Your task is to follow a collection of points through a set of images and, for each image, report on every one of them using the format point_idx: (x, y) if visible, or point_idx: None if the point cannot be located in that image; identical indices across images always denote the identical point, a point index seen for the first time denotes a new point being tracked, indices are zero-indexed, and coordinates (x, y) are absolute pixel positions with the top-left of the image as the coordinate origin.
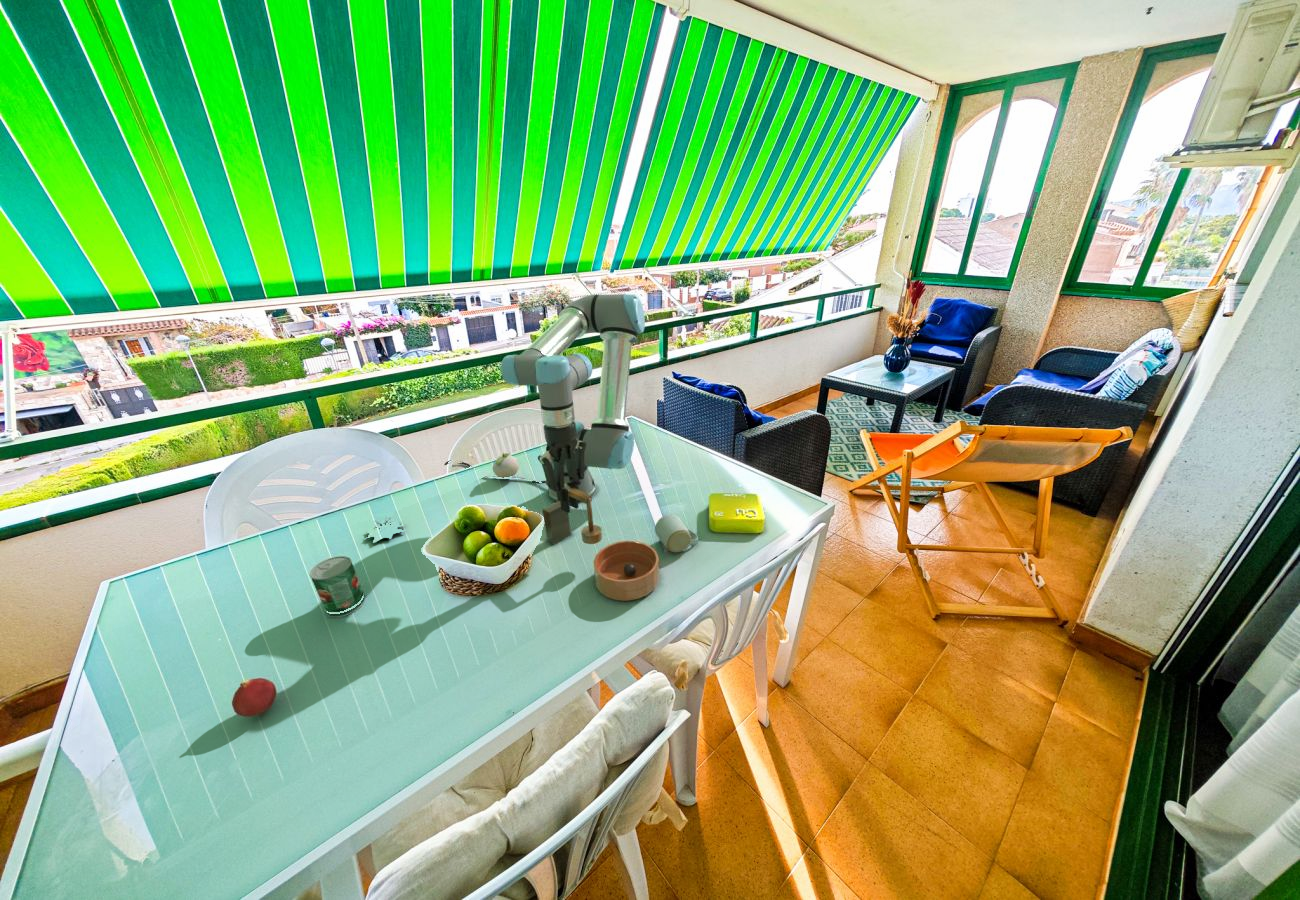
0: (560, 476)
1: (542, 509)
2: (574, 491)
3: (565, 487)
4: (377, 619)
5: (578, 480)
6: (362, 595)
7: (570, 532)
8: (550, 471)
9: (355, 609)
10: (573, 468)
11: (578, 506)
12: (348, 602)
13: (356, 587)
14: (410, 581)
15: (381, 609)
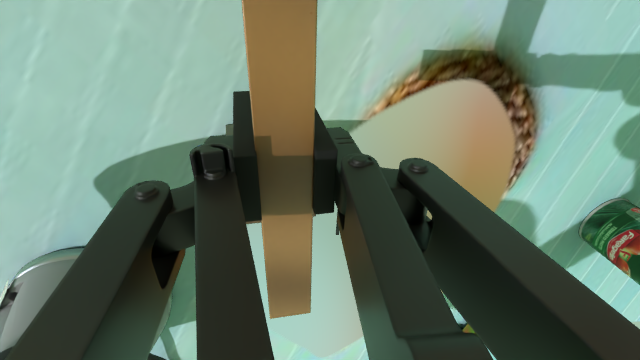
0: (408, 232)
1: (315, 214)
2: (291, 98)
3: (294, 191)
4: (622, 159)
5: (197, 180)
6: (603, 219)
7: (227, 128)
8: (579, 295)
9: (614, 201)
10: (236, 274)
11: (233, 94)
12: (637, 211)
13: (632, 230)
14: (532, 213)
15: (601, 177)
